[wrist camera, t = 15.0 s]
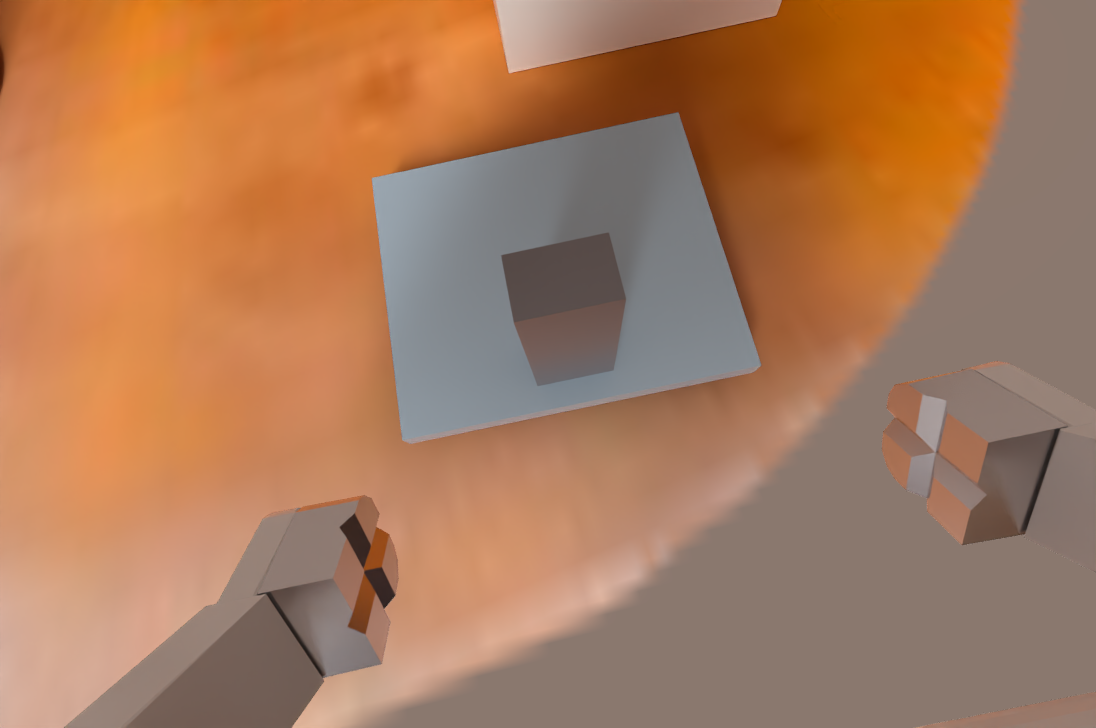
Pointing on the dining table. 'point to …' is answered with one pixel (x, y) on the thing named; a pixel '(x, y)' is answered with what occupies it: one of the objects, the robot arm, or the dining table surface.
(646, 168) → the lid
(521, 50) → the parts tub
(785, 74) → the dining table surface
